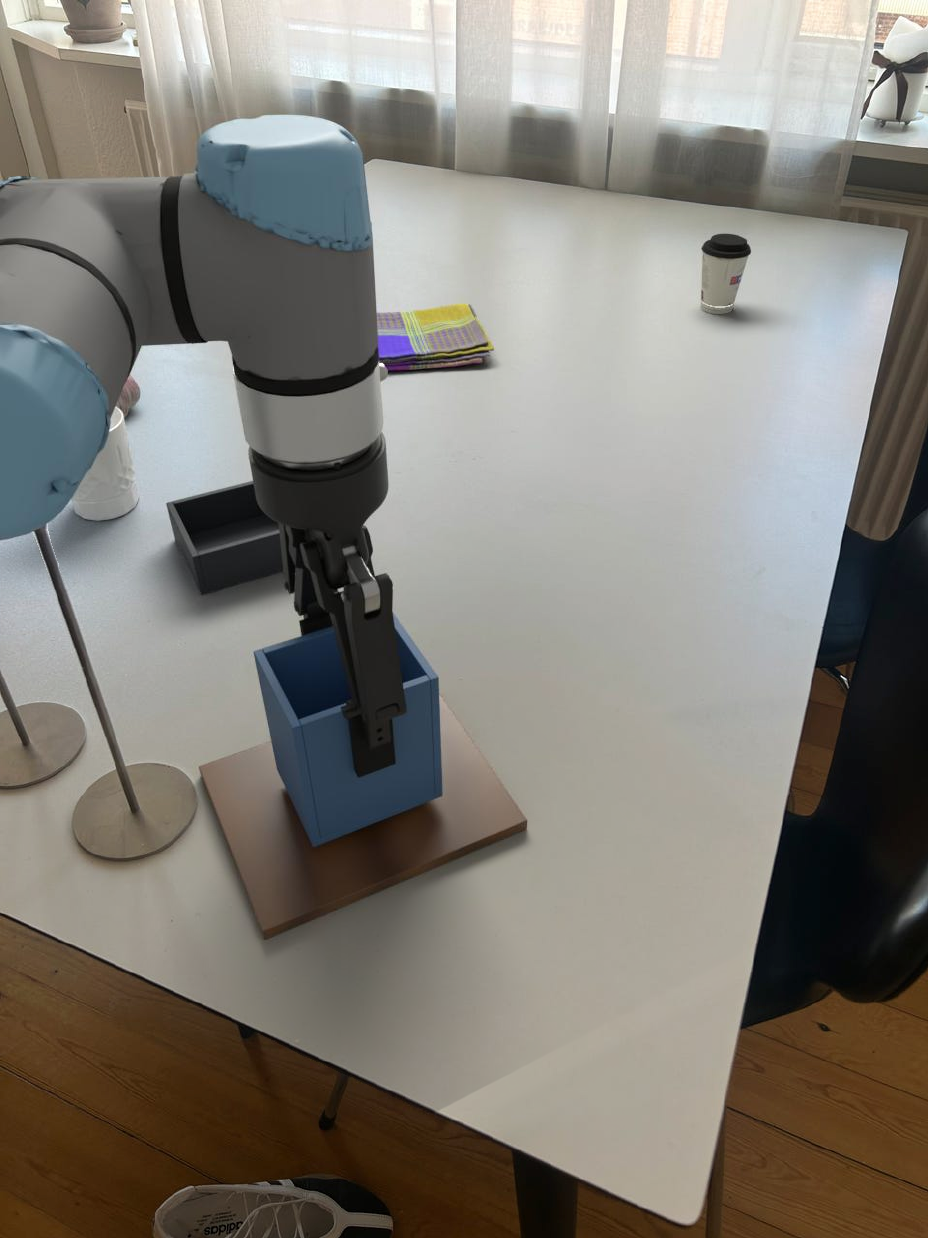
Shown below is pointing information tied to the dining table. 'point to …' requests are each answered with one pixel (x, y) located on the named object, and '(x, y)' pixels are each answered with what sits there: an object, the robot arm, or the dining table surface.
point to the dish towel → (431, 338)
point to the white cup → (109, 478)
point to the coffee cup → (722, 271)
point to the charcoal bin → (225, 537)
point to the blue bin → (346, 735)
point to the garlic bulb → (128, 396)
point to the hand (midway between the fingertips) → (350, 724)
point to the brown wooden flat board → (361, 860)
